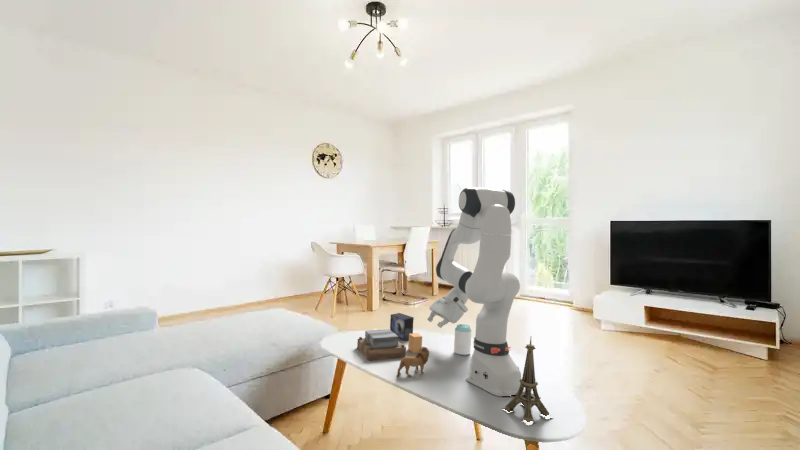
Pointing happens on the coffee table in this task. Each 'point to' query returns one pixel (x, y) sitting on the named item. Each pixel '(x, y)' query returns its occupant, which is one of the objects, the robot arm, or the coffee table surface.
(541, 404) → the eiffel tower
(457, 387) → the coffee table surface
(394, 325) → the small box
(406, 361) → the lion figurine
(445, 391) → the coffee table surface
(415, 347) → the orange brick
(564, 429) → the coffee table surface
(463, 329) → the can
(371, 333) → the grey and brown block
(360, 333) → the coffee table surface
